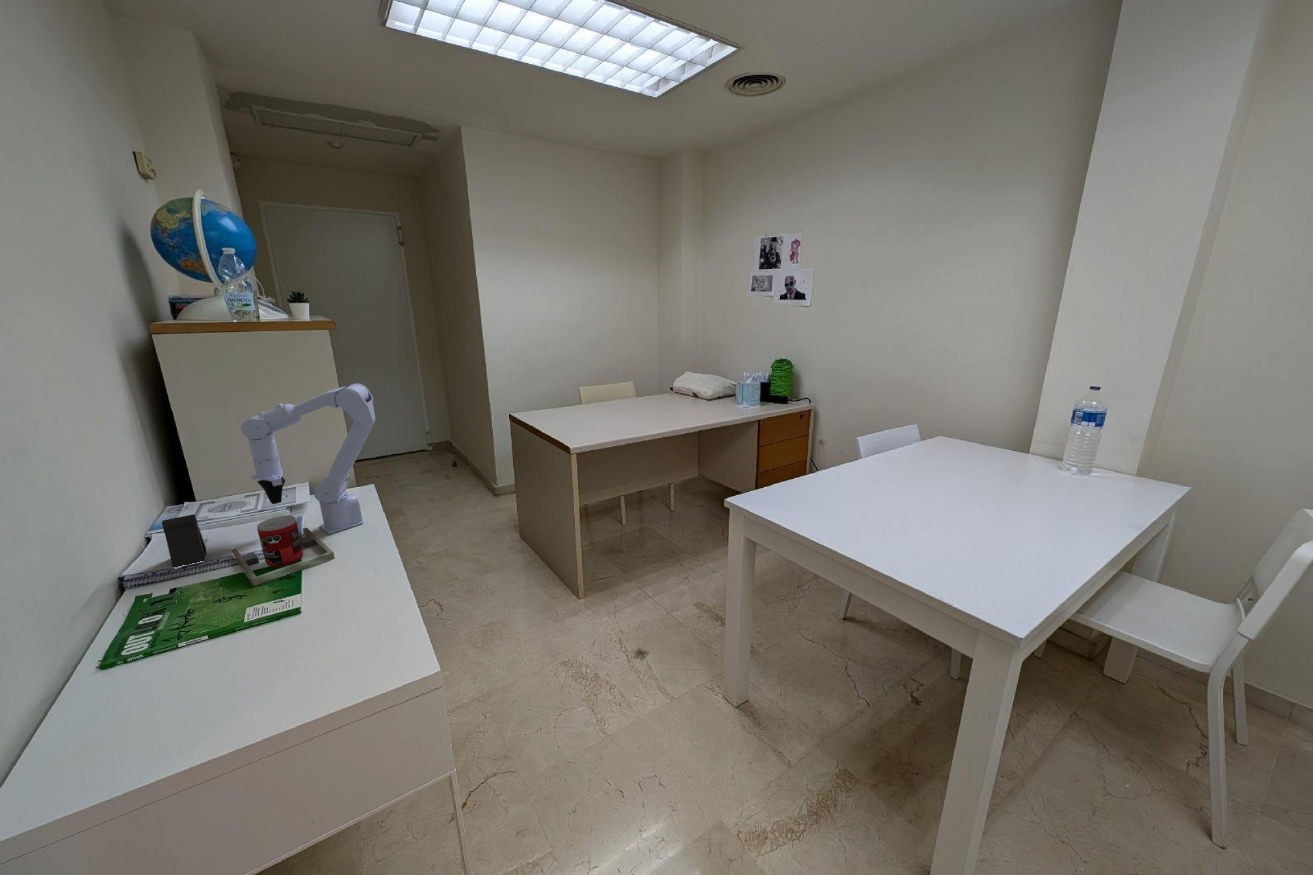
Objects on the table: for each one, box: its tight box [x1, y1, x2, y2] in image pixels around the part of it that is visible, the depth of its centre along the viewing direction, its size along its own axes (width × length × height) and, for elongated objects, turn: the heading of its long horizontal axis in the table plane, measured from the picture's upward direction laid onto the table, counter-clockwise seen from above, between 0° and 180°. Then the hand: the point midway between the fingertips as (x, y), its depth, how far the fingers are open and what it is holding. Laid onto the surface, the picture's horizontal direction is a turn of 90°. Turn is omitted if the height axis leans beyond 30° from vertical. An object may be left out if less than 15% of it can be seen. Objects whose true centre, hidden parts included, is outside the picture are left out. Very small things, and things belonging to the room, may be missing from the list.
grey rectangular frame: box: [231, 527, 336, 587], centre depth 127 cm, size 17×22×2 cm
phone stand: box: [161, 513, 207, 568], centre depth 124 cm, size 9×6×12 cm, turn 40°
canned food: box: [256, 515, 304, 568], centre depth 124 cm, size 8×8×11 cm
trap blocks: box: [241, 535, 316, 567], centre depth 129 cm, size 15×4×2 cm, turn 141°
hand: (276, 502), depth 138 cm, fingers closed
